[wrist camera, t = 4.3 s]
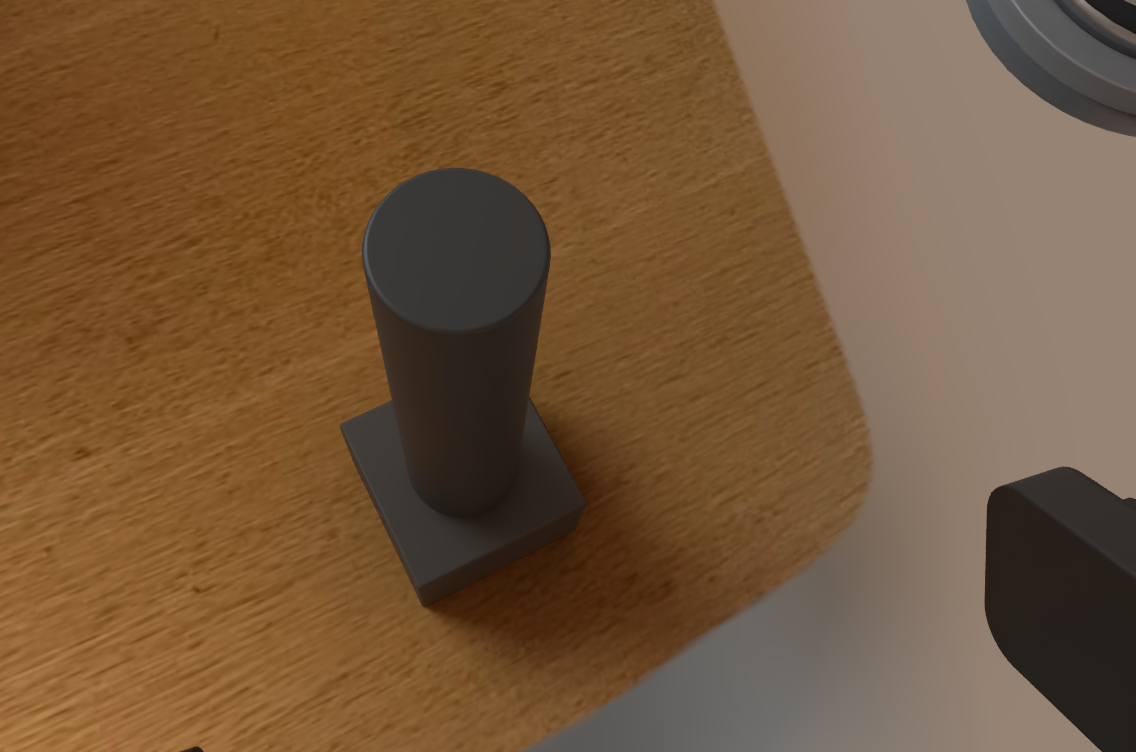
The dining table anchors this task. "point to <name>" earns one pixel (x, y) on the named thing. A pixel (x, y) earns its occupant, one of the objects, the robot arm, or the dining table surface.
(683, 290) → the dining table surface
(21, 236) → the dining table surface
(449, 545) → the grey peg on base
